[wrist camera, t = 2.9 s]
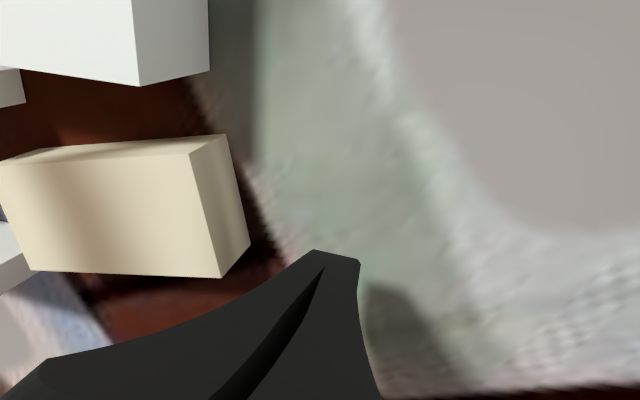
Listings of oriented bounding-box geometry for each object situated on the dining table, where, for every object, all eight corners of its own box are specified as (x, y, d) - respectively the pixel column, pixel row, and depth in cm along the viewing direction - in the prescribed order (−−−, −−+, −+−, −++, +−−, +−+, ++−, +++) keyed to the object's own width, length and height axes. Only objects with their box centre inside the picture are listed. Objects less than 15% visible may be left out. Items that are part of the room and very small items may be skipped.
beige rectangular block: (230, 130, 14) (188, 153, 12) (255, 239, 15) (221, 278, 13) (46, 146, 16) (-17, 166, 14) (83, 238, 18) (30, 270, 15)
